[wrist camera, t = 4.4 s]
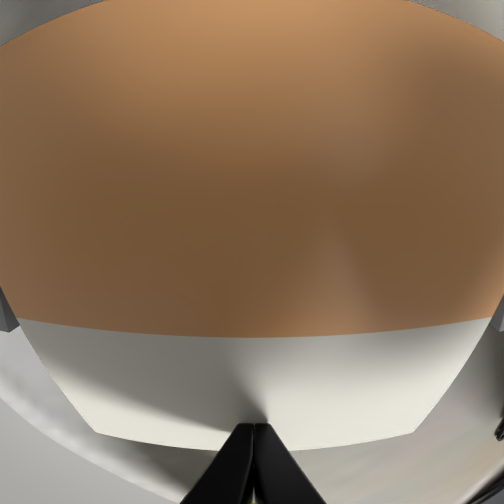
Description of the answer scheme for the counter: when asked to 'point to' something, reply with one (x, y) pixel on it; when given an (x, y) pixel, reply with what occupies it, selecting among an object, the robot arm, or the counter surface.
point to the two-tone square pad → (252, 213)
